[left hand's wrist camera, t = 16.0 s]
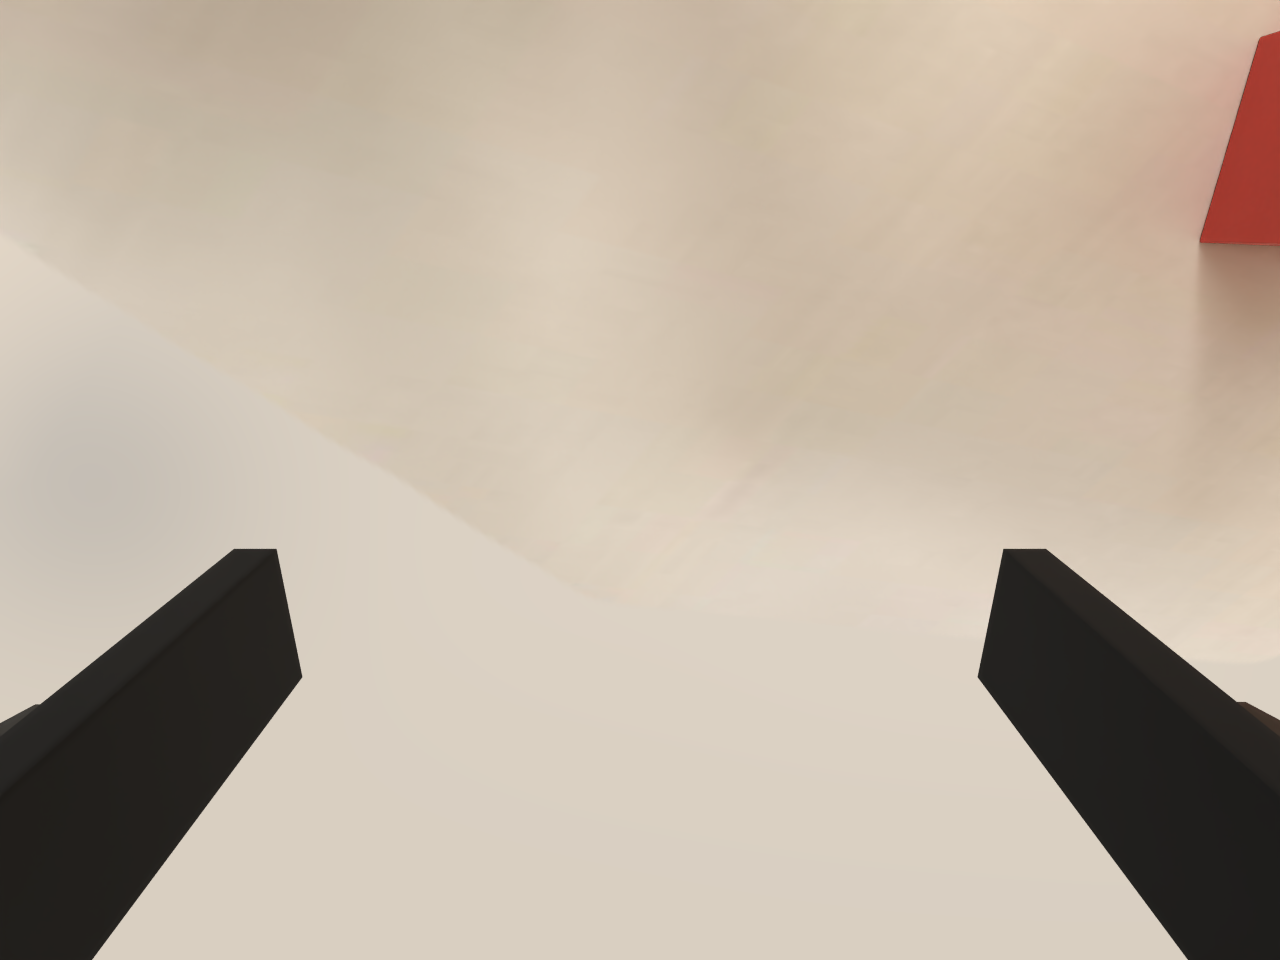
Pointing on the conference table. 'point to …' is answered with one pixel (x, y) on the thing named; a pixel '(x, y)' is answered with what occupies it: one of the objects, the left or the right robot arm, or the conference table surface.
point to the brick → (1252, 160)
